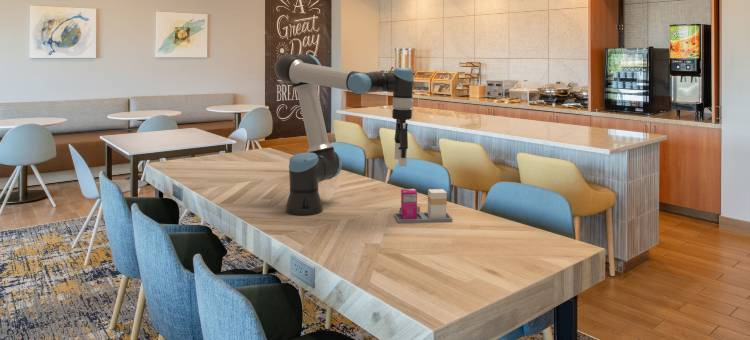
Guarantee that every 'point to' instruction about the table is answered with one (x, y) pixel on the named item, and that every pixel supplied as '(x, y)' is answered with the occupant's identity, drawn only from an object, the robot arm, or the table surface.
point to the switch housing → (417, 209)
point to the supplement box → (408, 204)
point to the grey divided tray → (422, 218)
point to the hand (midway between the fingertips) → (400, 162)
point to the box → (437, 203)
